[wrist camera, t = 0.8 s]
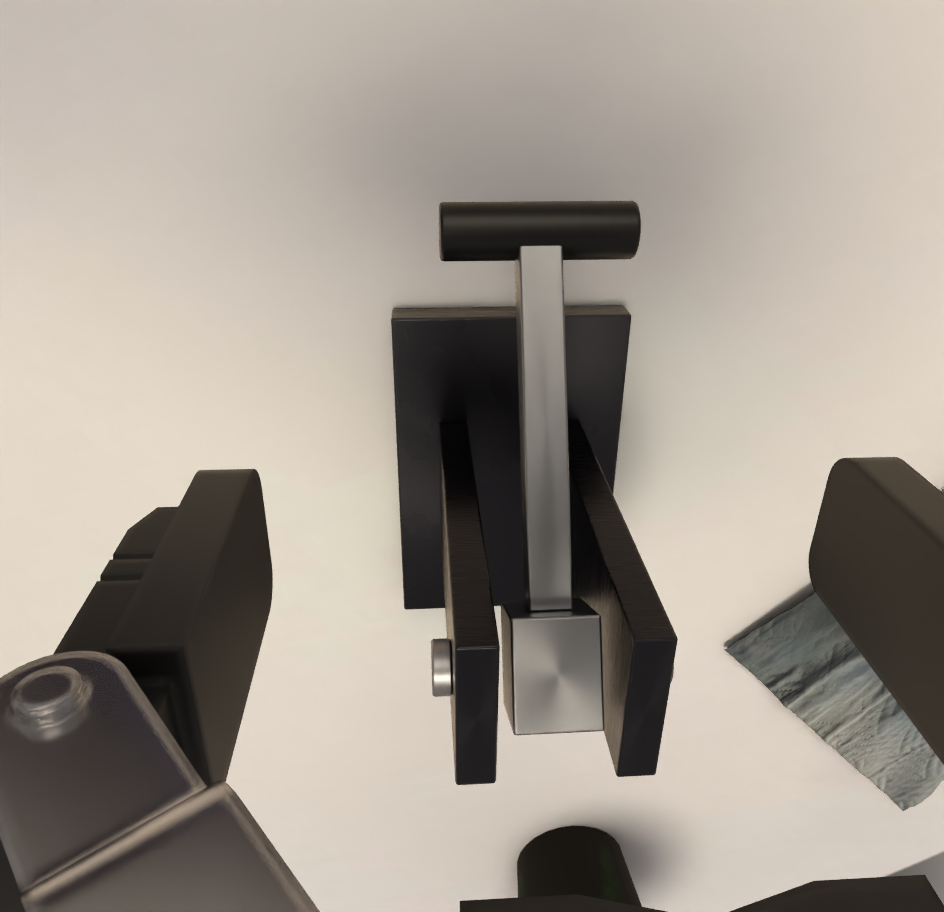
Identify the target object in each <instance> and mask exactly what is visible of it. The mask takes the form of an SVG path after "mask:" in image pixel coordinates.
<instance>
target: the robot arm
mask: <svg viewBox="0 0 944 912" xmlns="http://www.w3.org/2000/svg"><path fill="white" fill-rule="evenodd" d="M809 572H810V578H811V582H812V585H813V587H814V590H815V592H816V593H817V595H818V597H819V598H820V599H821V601H822V602H823V603H824V605H825V606H826V607H827V609H828V610H829V611H830V613H831V614H832V615H833V617H834V618H835V619H836V621H837V622H838V623H839V625H840V626H841V628H842V629H843V630H844V632H845V633H846V634H847V636H848V637H849V638H850V640H851V641H852V642H853V644H854V645H855V646H856V648H857V649H858V650H859V652H860V653H861V654H862V656H863V657H864V658H865V660H866V661H867V662H868V664H869V665H870V667H871V668H872V669H873V671H874V672H875V673H876V675H877V676H878V677H879V679H880V680H881V681H882V683H883V684H884V685H885V687H886V688H887V689H888V691H889V692H890V693H891V695H892V696H893V697H894V699H895V700H896V701H897V703H898V704H899V706H900V707H901V708H902V710H903V711H904V712H905V714H906V715H907V716H908V718H909V719H910V720H911V722H912V723H913V724H914V726H915V727H916V728H917V730H918V731H919V732H920V734H921V735H922V736H923V738H924V739H925V741H926V742H927V743H928V745H929V746H930V747H931V749H932V750H933V751H934V753H935V754H936V755H937V757H938V758H939V759H940V761H941V762H942V763H943V765H944V494H943V493H942V492H941V491H939V490H938V489H937V488H936V487H935V486H933V485H932V484H931V483H930V482H929V481H927V480H926V479H925V478H924V477H923V476H921V475H920V474H919V473H918V472H917V471H915V470H914V469H913V468H912V467H911V466H909V465H908V464H907V463H906V462H905V461H903V460H902V459H900V458H897V457H872V458H842V459H840V460H838V461H837V462H836V463H835V464H834V465H833V467H832V469H831V471H830V474H829V477H828V481H827V484H826V488H825V492H824V496H823V500H822V504H821V508H820V512H819V516H818V520H817V524H816V528H815V532H814V536H813V540H812V543H811V547H810V552H809ZM100 577H101V580H100V581H97V582H96V584H95V586H94V587H93V589H92V591H91V592H90V594H89V596H88V597H87V599H86V601H85V602H84V604H83V606H82V607H81V609H80V611H79V612H78V614H77V616H76V617H75V619H74V621H73V622H72V624H71V626H70V627H69V629H68V631H67V632H66V634H65V636H64V637H63V639H62V641H61V642H60V644H59V646H58V647H57V649H56V650H55V652H54V654H53V655H50V656H46V657H43V658H40V659H37V660H34V661H32V662H29V663H27V664H25V665H23V666H20V667H18V668H16V669H14V670H13V671H11V672H9V673H8V674H6V675H4V676H3V677H1V678H0V912H320V911H319V910H318V909H317V907H316V906H315V904H314V903H313V901H312V900H311V899H310V897H309V896H308V894H307V893H306V892H305V890H304V889H303V887H302V886H301V884H300V883H299V882H298V880H297V879H296V877H295V876H294V874H293V873H292V872H291V870H290V869H289V867H288V866H287V865H286V863H285V862H284V860H283V859H282V857H281V856H280V855H279V853H278V852H277V850H276V849H275V848H274V846H273V845H272V843H271V842H270V840H269V839H268V838H267V836H266V835H265V833H264V832H263V830H262V829H261V828H260V826H259V825H258V823H257V822H256V821H255V819H254V818H253V816H252V815H251V813H250V812H249V811H248V809H247V808H246V806H245V805H244V803H243V802H242V801H241V799H240V798H239V797H238V795H237V794H236V793H235V791H234V790H233V789H232V788H231V787H230V786H229V785H228V784H227V783H226V782H225V781H226V778H227V774H228V770H229V766H230V762H231V758H232V755H233V751H234V747H235V743H236V739H237V735H238V731H239V728H240V724H241V720H242V716H243V712H244V708H245V705H246V701H247V697H248V693H249V689H250V685H251V682H252V678H253V674H254V670H255V666H256V662H257V658H258V655H259V651H260V647H261V643H262V639H263V635H264V632H265V628H266V624H267V620H268V616H269V612H270V607H271V600H272V580H273V579H272V563H271V555H270V548H269V540H268V532H267V525H266V517H265V509H264V502H263V494H262V487H261V481H260V477H259V474H258V472H257V470H255V469H234V470H199V471H198V472H197V473H196V475H195V476H194V478H193V480H192V482H191V484H190V486H189V488H188V490H187V492H186V494H185V496H184V497H183V499H182V501H181V503H180V505H179V507H158V508H156V509H155V510H154V511H152V512H151V513H150V514H148V515H147V516H146V517H144V518H143V519H142V520H140V521H139V522H138V523H136V524H135V525H134V526H132V527H131V528H130V529H128V531H127V533H126V534H125V536H124V538H123V539H122V541H121V542H120V544H119V546H118V547H117V549H116V551H115V552H114V554H113V560H110V561H109V562H108V564H107V566H106V567H105V569H104V571H103V572H102V574H101V576H100ZM460 912H666V911H661V910H655V909H650V908H645V907H640V906H635V905H630V904H624V903H619V902H614V901H609V900H604V899H599V898H594V897H588V896H583V895H578V894H575V895H558V896H540V897H522V898H504V899H487V900H469V901H460ZM730 912H944V905H943V904H942V902H941V900H940V899H939V897H938V895H937V894H936V892H935V891H934V889H933V888H932V886H931V884H930V883H929V881H928V880H927V878H926V876H925V875H914V876H895V877H877V878H859V879H841V880H824V881H813V882H810V883H807V884H804V885H802V886H799V887H796V888H793V889H791V890H788V891H785V892H782V893H780V894H777V895H774V896H771V897H769V898H766V899H763V900H760V901H758V902H755V903H752V904H749V905H747V906H744V907H741V908H738V909H735V910H733V911H730Z"/></svg>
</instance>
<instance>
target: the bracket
mask: <svg viewBox="0 0 944 912" xmlns="http://www.w3.org/2000/svg"><path fill="white" fill-rule="evenodd" d="M564 316H565V351H566V385H567V420H568V455H569V490H570V525H571V560H572V595H573V598H581V599H582V600H583V601H584V602H586V603H587V604H588V605H589V606H590V607H591V608H592V609H594V610H595V611H596V612H597V613H598V614H599V615H600V616H601V630H602V665H603V700H604V733H605V736H606V740H607V743H608V747H609V750H610V754H611V757H612V761H613V765H614V768H615V772H616V775H617V776H618V777H624V776H642V775H655V774H656V768H657V762H658V755H659V749H660V743H661V737H662V731H663V725H664V719H665V713H666V706H667V700H668V694H669V688H670V683H671V681H672V678H673V670H674V657H675V651H676V645H677V636H676V634H675V632H674V630H673V627H672V625H671V623H670V621H669V619H668V616H667V614H666V612H665V610H664V607H663V605H662V603H661V601H660V599H659V596H658V594H657V592H656V590H655V587H654V585H653V583H652V581H651V579H650V576H649V574H648V572H647V570H646V567H645V565H644V563H643V561H642V559H641V556H640V554H639V552H638V550H637V547H636V545H635V543H634V541H633V539H632V536H631V534H630V532H629V530H628V527H627V525H626V523H625V521H624V519H623V516H622V514H621V512H620V510H619V507H618V505H617V503H616V501H615V499H614V496H613V489H614V480H615V470H616V460H617V450H618V441H619V431H620V421H621V411H622V402H623V392H624V382H625V372H626V363H627V353H628V343H629V333H630V324H631V315H630V313H629V312H628V311H627V310H626V309H625V307H624V306H623V305H598V306H564ZM391 325H392V347H393V369H394V391H395V413H396V435H397V457H398V479H399V501H400V523H401V545H402V567H403V589H404V608H405V609H428V608H445V611H446V628H447V639H433V640H432V641H431V658H432V692H433V696H435V697H438V696H450V697H451V714H452V731H453V748H454V765H455V782H456V784H457V785H468V784H487V783H495V781H496V761H497V723H498V686H499V649H500V646H499V639H498V632H497V626H496V619H495V612H494V606H501V602H502V601H518V600H524V567H523V531H522V496H521V461H520V425H519V390H518V355H517V319H516V307H471V308H407V309H393V310H392V318H391Z"/></svg>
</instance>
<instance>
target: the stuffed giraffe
mask: <svg viewBox="0 0 944 912" xmlns="http://www.w3.org/2000/svg"><path fill="white" fill-rule="evenodd" d="M725 650H726V651H727V652H728V653H729V654H730V655H731V656H733V657H734V658H735V659H736V660H737V661H738V662H739V663H740V664H741V665H743V666H744V667H745V668H746V669H748V670H749V671H750V672H751V673H752V674H754V675H755V676H756V677H757V678H758V679H759V680H760V681H761V682H762V683H763V684H764V685H765V686H766V687H767V688H768V689H769V690H770V691H771V692H772V693H773V694H774V695H775V696H776V697H777V698H778V699H779V700H780V701H781V703H782V704H783V705H784V706H785V707H786V708H787V709H790V710H791V711H792V712H793V713H794V714H796V715H797V716H798V717H799V718H800V719H802V720H803V721H804V722H805V723H806V724H807V725H808V726H809V727H810V728H812V729H813V730H814V731H815V732H816V733H817V734H818V735H819V736H820V737H821V738H822V739H823V740H824V741H825V742H826V743H827V744H829V745H830V746H832V747H833V748H834V749H836V750H837V751H838V753H840V754H841V755H842V756H843V757H844V758H845V759H846V760H847V761H849V762H850V763H851V764H852V765H853V766H854V767H855V768H856V769H857V770H858V771H859V772H860V773H862V774H863V775H864V776H866V777H867V778H869V779H870V780H871V781H872V782H873V783H874V784H875V785H876V786H877V787H878V788H879V789H880V790H882V791H883V792H884V793H885V794H887V795H888V796H889V797H890V798H891V799H892V800H893V801H894V803H896V804H897V805H898V806H899V807H900V808H901V809H902V810H903V811H904V810H906V809H908V808H909V807H913V806H916V805H917V804H919V803H921V802H922V801H923V800H925V799H926V798H927V797H928V796H930V795H931V794H932V793H933V792H934V790H935V789H936V788H937V786H938V785H939V784H940V783H941V782H942V781H943V780H944V765H943V763H942V762H941V761H940V759H939V758H938V757H937V755H936V754H935V753H934V751H933V750H932V749H931V747H930V746H929V745H928V743H927V742H926V741H925V739H924V738H923V736H922V735H921V734H920V732H919V731H918V730H917V728H916V727H915V726H914V724H913V723H912V722H911V720H910V719H909V718H908V716H907V715H906V714H905V712H904V711H903V710H902V708H901V707H900V706H899V704H898V703H897V701H896V700H895V699H894V697H893V696H892V695H891V693H890V692H889V691H888V689H887V688H886V687H885V685H884V684H883V683H882V681H881V680H880V679H879V677H878V676H877V675H876V673H875V672H874V671H873V669H872V668H871V667H870V665H869V664H868V662H867V661H866V660H865V658H864V657H863V656H862V654H861V653H860V652H859V650H858V649H857V648H856V646H855V645H854V644H853V642H852V641H851V640H850V638H849V637H848V636H847V634H846V633H845V632H844V630H843V629H842V628H841V626H840V625H839V623H838V622H837V621H836V619H835V618H834V617H833V615H832V614H831V613H830V611H829V610H828V609H827V607H826V606H825V605H824V603H823V602H822V601H821V599H820V598H819V597H818V595H817V593H814V594H813V595H811V596H810V597H809V598H807V599H806V600H804V601H803V602H801V603H800V604H798V605H797V606H795V607H793V608H792V609H790V610H789V611H786V612H784V613H782V614H779V615H777V616H776V617H775V618H774V619H772V620H771V621H770V622H768V623H767V624H765V625H763V626H761V627H760V628H758V629H756V630H754V631H752V632H751V633H750V634H749V635H747V636H746V637H744V638H742V639H740V640H739V641H737V642H736V643H734V644H733V645H732V646H731V647H729V648H727V649H725Z"/></svg>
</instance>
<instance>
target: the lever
mask: <svg viewBox="0 0 944 912" xmlns="http://www.w3.org/2000/svg"><path fill="white" fill-rule="evenodd" d="M640 233H641V218H640V211H639V207H638V205H637V203H636V202H634V201H541V202H442V203H440V205H439V250H440V259H441V260H442V261H514V260H515V284H516V319H517V355H518V390H519V425H520V461H521V496H522V531H523V567H524V600H518V601H502V602H501V623H502V659H503V694H504V705H505V708H506V711H507V714H508V717H509V721H510V724H511V727H512V730H513V733H514V735H530V734H550V733H570V732H590V731H603V730H604V700H603V665H602V630H601V616H600V615H599V614H598V613H597V612H596V611H595V610H594V609H592V608H591V607H590V606H589V605H588V604H587V603H586V602H584V601H583V600H582V599H581V598H573V595H572V560H571V525H570V490H569V455H568V420H567V385H566V351H565V316H564V281H563V260H598V259H631V258H633V257H634V256H635V255H636V252H637V249H638V246H639V241H640Z"/></svg>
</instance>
